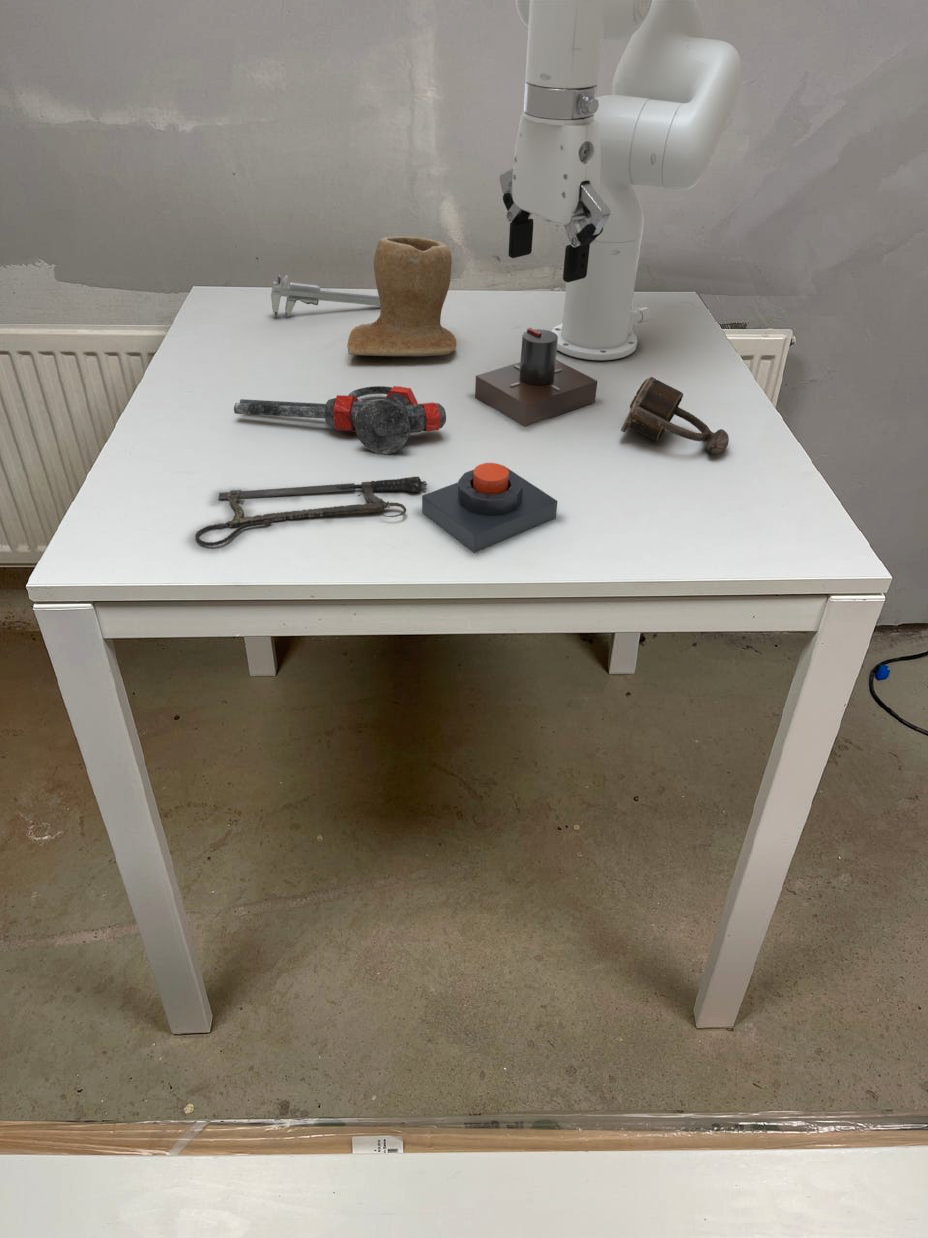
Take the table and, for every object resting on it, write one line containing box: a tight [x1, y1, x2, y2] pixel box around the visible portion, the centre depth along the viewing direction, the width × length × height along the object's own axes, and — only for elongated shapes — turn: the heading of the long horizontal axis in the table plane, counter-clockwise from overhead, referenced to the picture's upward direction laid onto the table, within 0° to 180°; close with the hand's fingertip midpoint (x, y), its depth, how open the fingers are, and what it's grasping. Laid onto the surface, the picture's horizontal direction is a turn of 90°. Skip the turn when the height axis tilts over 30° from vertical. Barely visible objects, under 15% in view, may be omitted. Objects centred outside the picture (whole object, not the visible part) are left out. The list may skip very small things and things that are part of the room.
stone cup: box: [346, 235, 458, 357], centre depth 123 cm, size 15×12×15 cm
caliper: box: [270, 273, 380, 319], centre depth 136 cm, size 20×1×6 cm, turn 109°
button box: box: [421, 465, 558, 554], centre depth 94 cm, size 11×9×4 cm
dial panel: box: [474, 359, 598, 427], centre depth 115 cm, size 12×10×3 cm
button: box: [473, 462, 509, 494], centre depth 92 cm, size 4×4×2 cm
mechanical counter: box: [620, 376, 730, 455], centre depth 106 cm, size 7×13×10 cm
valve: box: [233, 385, 447, 455], centre depth 109 cm, size 6×26×15 cm
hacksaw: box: [194, 476, 428, 547], centre depth 94 cm, size 24×10×2 cm, turn 97°
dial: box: [519, 327, 558, 385], centre depth 112 cm, size 4×4×6 cm
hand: (546, 267), depth 106 cm, fingers open, 9 cm apart
